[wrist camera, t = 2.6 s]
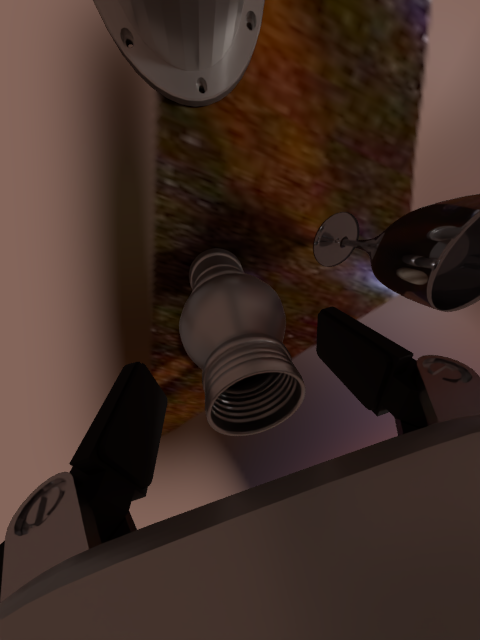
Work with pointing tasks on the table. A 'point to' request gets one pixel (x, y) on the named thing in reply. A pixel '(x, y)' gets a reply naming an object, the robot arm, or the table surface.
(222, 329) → the plastic bottle
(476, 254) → the wine glass
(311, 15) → the table surface
